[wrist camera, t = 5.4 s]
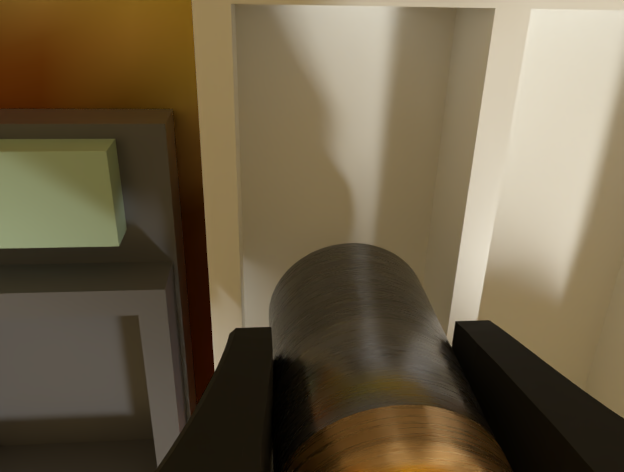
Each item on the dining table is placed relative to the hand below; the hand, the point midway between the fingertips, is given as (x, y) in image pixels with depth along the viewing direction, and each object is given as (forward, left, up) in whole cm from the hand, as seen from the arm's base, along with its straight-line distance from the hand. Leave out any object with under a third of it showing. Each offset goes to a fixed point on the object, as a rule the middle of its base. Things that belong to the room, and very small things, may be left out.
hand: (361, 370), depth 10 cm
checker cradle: (-1, +7, -5) cm, 8 cm away
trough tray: (0, -2, -5) cm, 5 cm away
